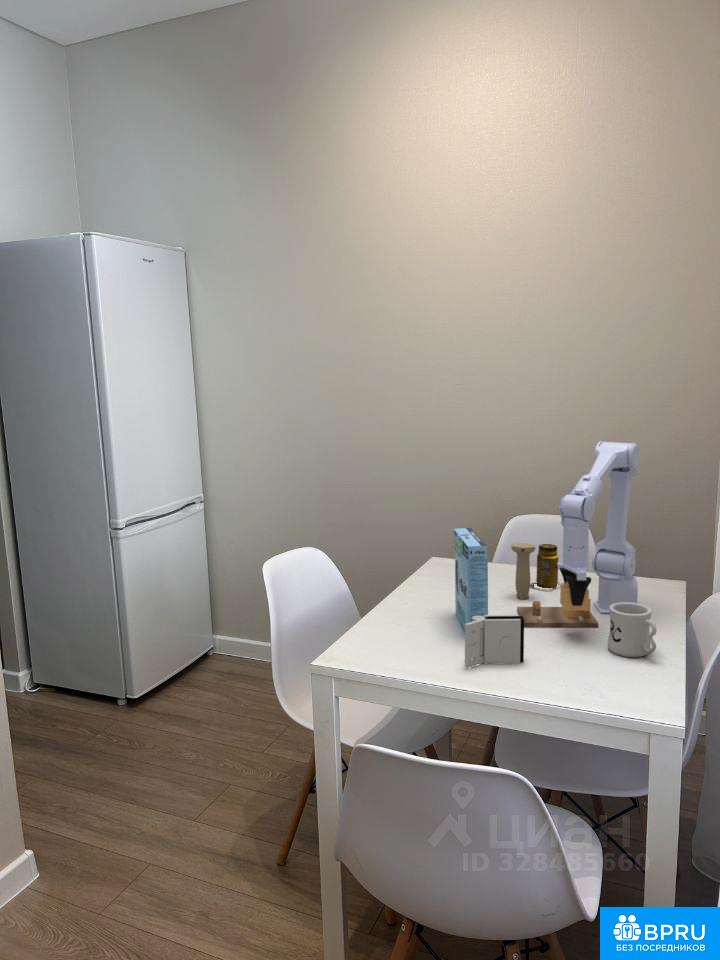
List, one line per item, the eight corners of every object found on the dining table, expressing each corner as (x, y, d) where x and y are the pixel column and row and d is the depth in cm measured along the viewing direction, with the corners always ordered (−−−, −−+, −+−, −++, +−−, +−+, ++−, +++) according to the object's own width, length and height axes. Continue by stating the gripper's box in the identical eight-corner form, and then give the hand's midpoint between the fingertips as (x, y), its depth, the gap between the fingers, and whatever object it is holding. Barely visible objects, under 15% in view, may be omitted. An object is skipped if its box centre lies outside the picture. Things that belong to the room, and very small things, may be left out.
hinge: (465, 670, 160) (465, 625, 158) (457, 660, 165) (457, 616, 163) (526, 663, 162) (527, 619, 161) (516, 654, 168) (517, 611, 166)
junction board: (586, 611, 194) (587, 584, 193) (598, 627, 183) (599, 599, 181) (517, 611, 196) (517, 584, 195) (523, 627, 184) (524, 599, 183)
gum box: (488, 640, 176) (489, 545, 173) (467, 640, 176) (467, 546, 172) (473, 612, 195) (473, 527, 192) (453, 613, 195) (453, 528, 192)
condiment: (563, 585, 217) (564, 545, 215) (548, 592, 211) (548, 551, 209) (542, 580, 222) (542, 541, 220) (525, 587, 216) (526, 546, 214)
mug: (598, 647, 170) (600, 605, 169) (629, 640, 174) (631, 599, 172) (638, 667, 159) (640, 622, 158) (670, 659, 163) (672, 615, 161)
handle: (534, 601, 203) (535, 548, 201) (510, 600, 205) (510, 546, 202) (534, 596, 208) (535, 543, 205) (511, 594, 209) (511, 542, 207)
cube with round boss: (583, 603, 180) (583, 579, 179) (588, 610, 174) (589, 585, 173) (560, 603, 180) (560, 579, 179) (564, 610, 175) (565, 586, 174)
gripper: (552, 538, 182) (551, 591, 184) (564, 553, 168) (563, 611, 170) (581, 538, 182) (580, 591, 184) (596, 553, 167) (594, 611, 169)
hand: (574, 601), depth 177 cm, fingers closed on cube with round boss, 5 cm apart
